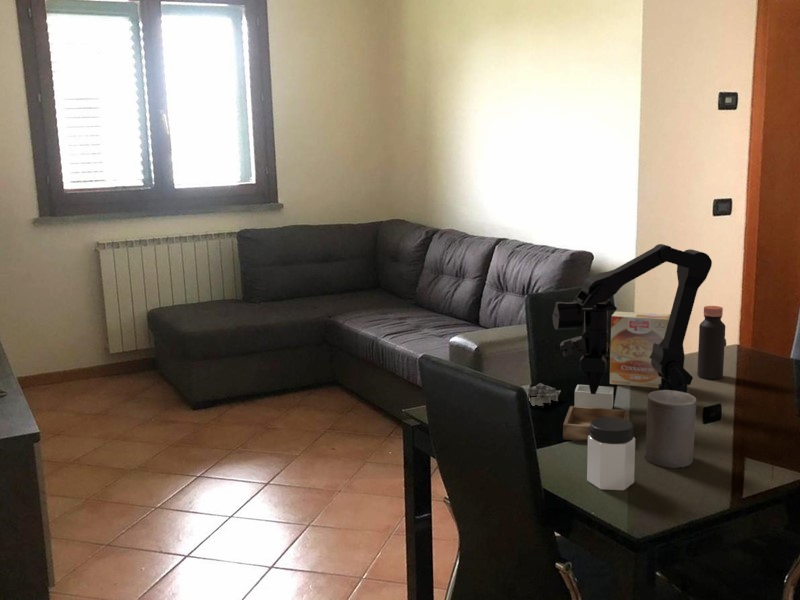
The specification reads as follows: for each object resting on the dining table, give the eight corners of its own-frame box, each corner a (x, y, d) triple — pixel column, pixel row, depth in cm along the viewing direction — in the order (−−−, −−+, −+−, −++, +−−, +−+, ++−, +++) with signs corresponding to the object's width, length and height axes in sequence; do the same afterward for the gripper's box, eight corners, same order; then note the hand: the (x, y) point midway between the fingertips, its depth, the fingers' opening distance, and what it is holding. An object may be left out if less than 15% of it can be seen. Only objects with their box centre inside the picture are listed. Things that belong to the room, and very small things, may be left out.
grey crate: (613, 405, 202) (613, 387, 201) (611, 413, 196) (611, 394, 195) (576, 403, 204) (577, 384, 203) (574, 410, 199) (574, 391, 198)
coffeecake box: (609, 384, 220) (610, 315, 216) (612, 377, 226) (614, 310, 223) (665, 389, 214) (668, 318, 211) (668, 382, 221) (670, 313, 217)
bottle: (726, 379, 221) (730, 309, 218) (702, 380, 221) (705, 310, 218) (717, 373, 228) (720, 304, 224) (693, 373, 228) (696, 305, 224)
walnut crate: (628, 424, 188) (628, 410, 187) (625, 444, 175) (625, 429, 175) (569, 419, 192) (570, 405, 192) (562, 439, 179) (563, 424, 179)
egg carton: (537, 411, 200) (537, 395, 200) (514, 404, 206) (514, 389, 205) (563, 401, 207) (563, 386, 206) (540, 395, 213) (540, 380, 212)
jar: (601, 469, 162) (602, 413, 160) (639, 479, 157) (641, 421, 155) (580, 484, 155) (581, 426, 153) (619, 495, 150) (621, 434, 148)
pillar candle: (635, 458, 168) (637, 390, 165) (662, 446, 173) (665, 381, 170) (675, 472, 160) (679, 401, 157) (703, 460, 166) (707, 391, 163)
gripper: (567, 318, 208) (566, 376, 210) (558, 334, 190) (557, 397, 193) (611, 320, 204) (609, 379, 207) (605, 337, 187) (604, 400, 190)
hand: (594, 388), depth 199 cm, fingers open, 9 cm apart
